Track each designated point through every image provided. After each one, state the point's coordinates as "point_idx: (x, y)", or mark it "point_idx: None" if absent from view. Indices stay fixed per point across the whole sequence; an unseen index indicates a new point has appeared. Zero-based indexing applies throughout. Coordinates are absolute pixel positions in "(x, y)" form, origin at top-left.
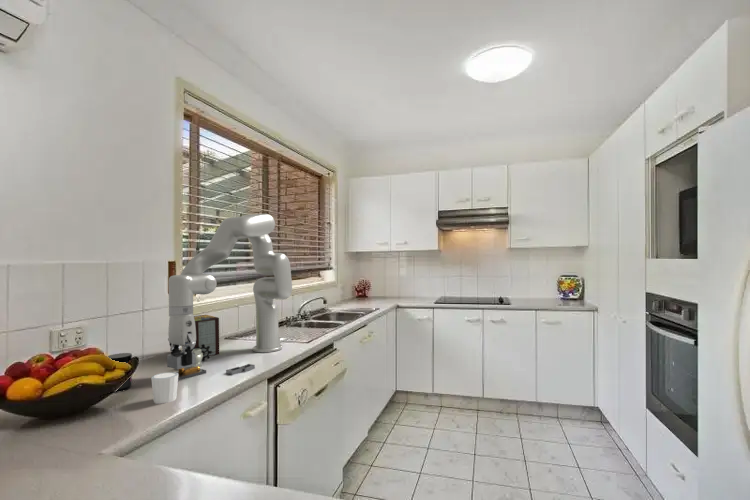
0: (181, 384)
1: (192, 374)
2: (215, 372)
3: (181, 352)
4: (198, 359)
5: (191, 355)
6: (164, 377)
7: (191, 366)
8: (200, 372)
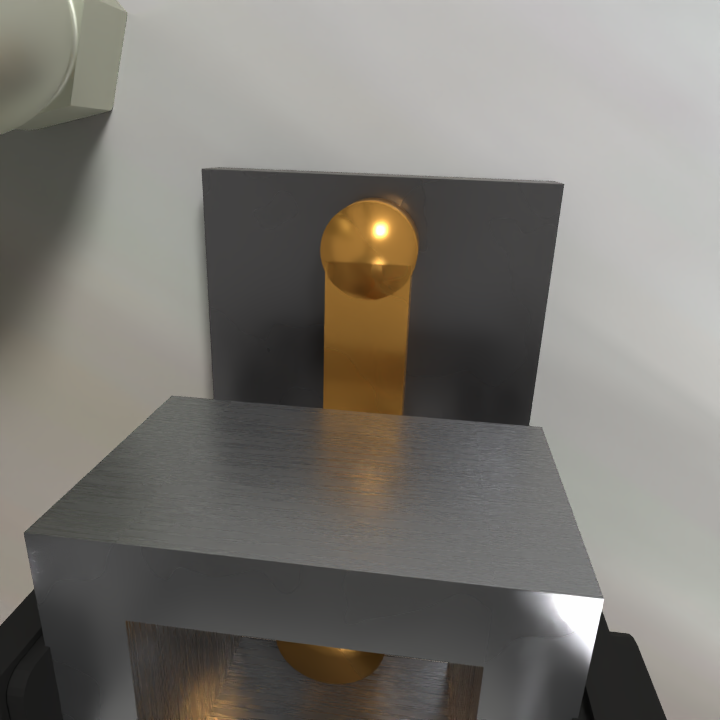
0: (675, 648)
1: (527, 424)
2: (676, 53)
3: (123, 674)
4: (43, 20)
5: (623, 707)
6: None
7: (32, 123)
8: (544, 293)
